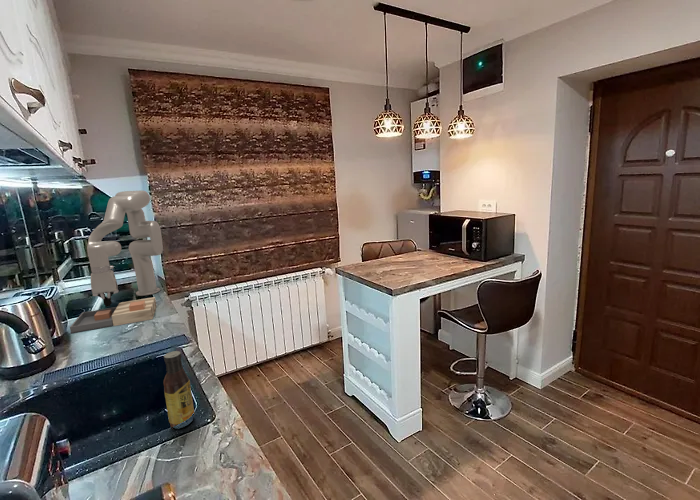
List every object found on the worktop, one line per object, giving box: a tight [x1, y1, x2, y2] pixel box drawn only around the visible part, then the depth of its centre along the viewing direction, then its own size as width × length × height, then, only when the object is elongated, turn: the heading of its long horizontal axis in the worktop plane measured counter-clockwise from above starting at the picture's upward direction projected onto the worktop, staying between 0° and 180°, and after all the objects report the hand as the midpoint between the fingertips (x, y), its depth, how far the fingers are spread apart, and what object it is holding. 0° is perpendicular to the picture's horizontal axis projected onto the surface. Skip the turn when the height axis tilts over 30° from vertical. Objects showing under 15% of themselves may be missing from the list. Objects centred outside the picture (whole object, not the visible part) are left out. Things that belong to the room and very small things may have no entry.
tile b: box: [129, 300, 146, 311], centre depth 174 cm, size 6×6×2 cm
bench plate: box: [112, 296, 157, 327], centre depth 179 cm, size 20×16×5 cm
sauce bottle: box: [163, 350, 195, 429], centre depth 95 cm, size 7×6×20 cm
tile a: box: [94, 310, 112, 321], centre depth 177 cm, size 6×6×2 cm
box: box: [69, 306, 117, 334], centre depth 173 cm, size 20×16×3 cm
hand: (108, 305), depth 178 cm, fingers closed
